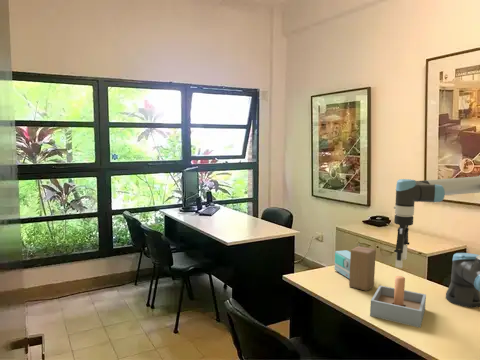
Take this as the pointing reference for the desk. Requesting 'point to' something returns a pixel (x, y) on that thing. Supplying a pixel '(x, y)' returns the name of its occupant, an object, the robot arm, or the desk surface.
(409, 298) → the bore box
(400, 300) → the peg
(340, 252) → the radio
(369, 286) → the wooden block
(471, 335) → the desk surface
